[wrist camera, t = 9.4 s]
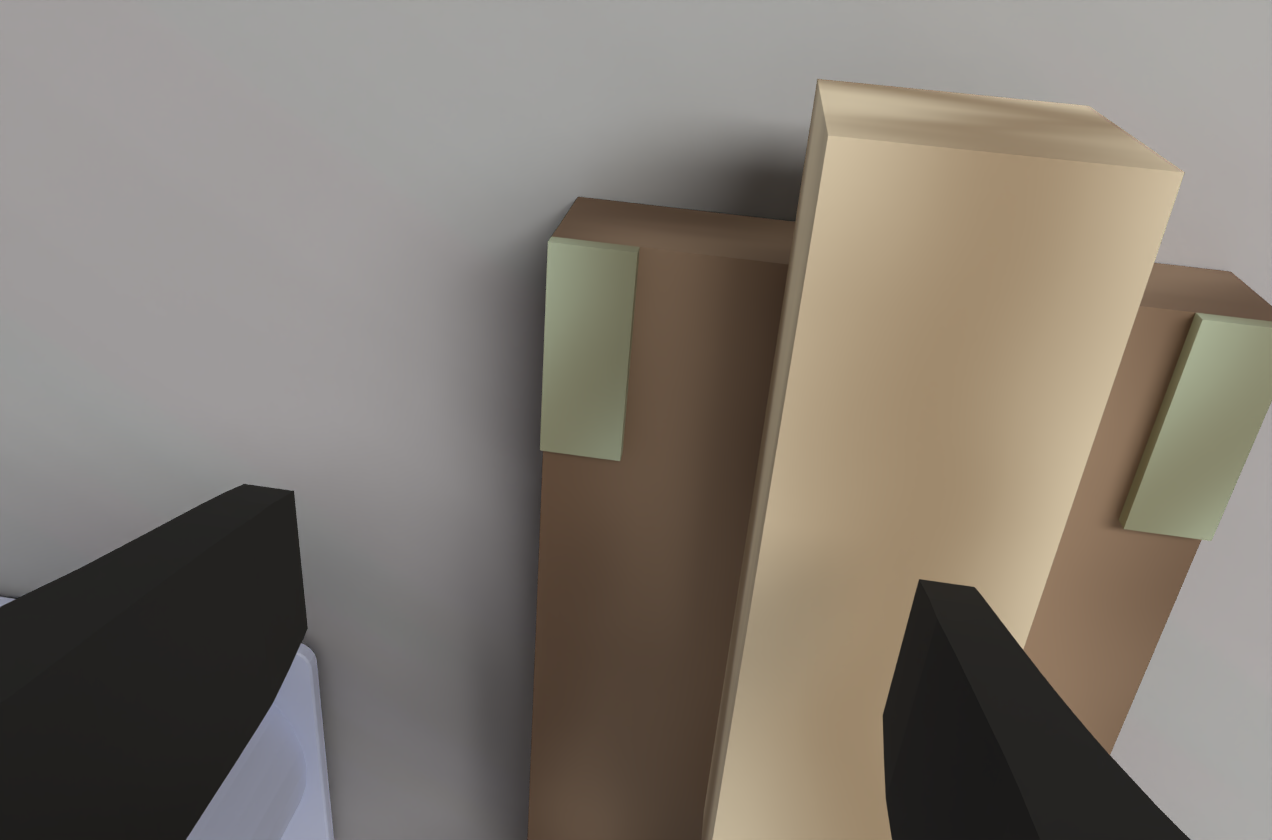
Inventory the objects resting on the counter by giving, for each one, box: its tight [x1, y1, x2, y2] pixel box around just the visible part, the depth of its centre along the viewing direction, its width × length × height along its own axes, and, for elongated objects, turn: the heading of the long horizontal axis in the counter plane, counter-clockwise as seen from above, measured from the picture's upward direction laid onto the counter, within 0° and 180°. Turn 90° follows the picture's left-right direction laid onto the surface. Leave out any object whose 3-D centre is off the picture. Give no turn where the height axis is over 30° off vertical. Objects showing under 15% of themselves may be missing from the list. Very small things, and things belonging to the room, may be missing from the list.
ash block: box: [701, 79, 1185, 840], centre depth 17 cm, size 4×16×4 cm, turn 176°
